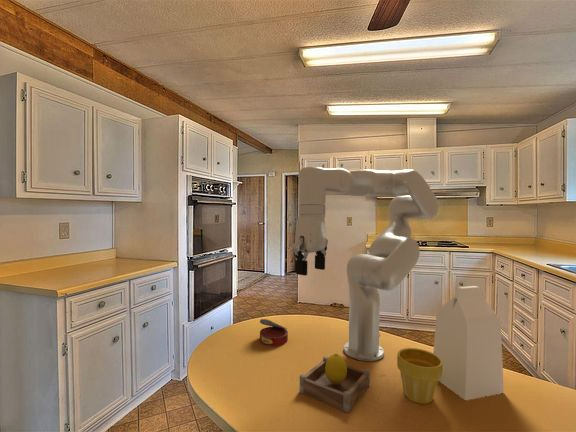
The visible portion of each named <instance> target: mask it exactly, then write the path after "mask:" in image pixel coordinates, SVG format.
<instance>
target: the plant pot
mask: <svg viewBox="0 0 576 432" xmlns="http://www.w3.org/2000/svg"><path fill="white" fill-rule="evenodd" d="M396 363H397V364H396V365H397V369H398V370H399V372H400V377H401V384H402V390H403V394H404V395H405V397H406V398H407V399H408V400H410V401H413V402H414V403H418V404H430V403H431V402H432V401H433V400H434V397H435V392H436V388H437V385H438V382H439V381H438V379H440V378H441V376H442V368H443V362H442V360H441V359H440V358H439V357H438V356H437V355H435V354H433V352H432V351H429V350H426V349H421V348H416V347H407V348H406V347H405V348H402V349H400V350H399V351H398V352H397V357H396Z"/></svg>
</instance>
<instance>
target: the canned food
mask: <svg viewBox="0 0 576 432" xmlns="http://www.w3.org/2000/svg"><path fill="white" fill-rule="evenodd" d="M259 323H260V324H261V325H264V326H267V327H263V328H261V330H259V342H260V344H262V345H265V346H268V347H279V346H284V345H285V344H287V343H288V339H289V338H288V337H289V336H288V335H289V331H288V328H287V327H285V326H282V325H280V324H278V323H276V322H273V321H272V320H269V319H266V318H264V319H263V318H261V319H260V320H259Z"/></svg>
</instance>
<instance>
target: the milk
mask: <svg viewBox="0 0 576 432" xmlns="http://www.w3.org/2000/svg"><path fill="white" fill-rule="evenodd" d="M501 324H502V322H501V320H500V317H499V315H498V314H497V313H496V312H495V311H494V309H493V308H492V307H491V305H490V304H489V303H488V302H487V300H485V298H484V297H483V294H482V291H481V287H480V286H477V285H468V286H457V288H456V290H455V292H454V295H453V297H451V299H449V300H448V301H447V302H445V303H444V304H443V305H441V306H439V308H438V309H437V310H436V316H435V329H434V342H433V352H432V353H433V354H435V355H437V356H438V357H439V358H440V359H441V360H442V362H443V368H442V376H441V378H440V379H438V382H439V383H440V384H442V385H443V384H444V385H443V386H445V387H446V386H447V387H446V388H447V389H449V390H450V391H451V392H453V393H454V394H456V395H457V396H458V395H459V396H458V397H460V398H461V399H463V400H464V401H465V400H466V401H471V400H475V399H476V400H477V399H480V398H481V397H482V398H486V397H485V396H487V397H491V395H492V396H497V395H501V393H503V394H504V391H505V390H504V367H503V366H504V365H503V347H502V346H503V343H502V341H503V340H502V325H501ZM496 394H497V395H496ZM470 399H471V400H470Z"/></svg>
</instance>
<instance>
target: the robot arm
mask: <svg viewBox="0 0 576 432" xmlns="http://www.w3.org/2000/svg"><path fill="white" fill-rule="evenodd" d="M326 196H351V197H393V198H392V200H391V201H390V204H389V208H388V209H389V224H388V225H387V227H385V229H384V230H383V231H382V232H381V233H380V234H378V236H377V237H376V238H375V239H374V240H373V241H372V243H371V244H370V246H369V248H368V252H369V254H366V253H359V254H358V253H357V254H355V255H353V256H351V257H350V258H349V260H348V261H347V264H346V276H347V282H348V290H349V291H348V292H349V300H348V301H349V304H348V305H349V306H348V341H347V342H346V343H345V344H343V351H344V353H345V354H346V355H347V356H348V357H350V358H351V359H354V360H359V361H362V362H363V361H364V362H373V361H374V362H375V361H379V360H381V359H382V358H383V357H384V356H385V350H384V348H383V347H382V346H380V337H381V334H380V314H381V313H380V310H381V309H380V306H381V300H380V299H381V298H380V294H379V291H378V289H379V290H382V291H392V290H394V289H395V288H397V287H398V286H399V285H400V284H401V283H402V282H403V280H404V279H405V278H406V276H408V275H409V273H410V272H411V271H412V270H413V269H414V267H415V266H416V264H417V263H418V260H419V258H420V251H421V250H420V245H419V244H418V242H417V241H416V240H415V238H414V239H413V238H412V234H413V233H412V229H411V226H410V224H409V219H413V220H430V219H432V218H435V216H437V214H438V212H439V208H440V207H439V206H440V205H439V201H438V199H437V196H436V194H435V192H433V190H432V189H431V187H430V185H429V184H428V183H427V181H426V179H425V178H424V177H423V176H422V174H420V173H419V172H418V171H417V170H415V169H412V168H411V169H409V168H408V169H402V170H377V169H359V170H350V171H349V170H348V169H345V168H341V167H336V168H323V167H320V166H319V167H318V166H305V167H302V168H300V170H299V174H298V216H297V219H296V224H295V233H294V243H293V244H292V250H293V255H294V257H295V258H294V259H295V261H296V267H295V268H296V270H295V271H296V275H299V276H308V260H307V259H308V255H309V254H310V253H315V255H314V269H315V270H320V271H321V270H322V271H324V270H325V269H326V255H327V250H328V243H329V240H328V239H327V234H326V233H327V231H326V230H327V229H326V228H327V227H326V218H325V217H326V200H327V199H326Z"/></svg>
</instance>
